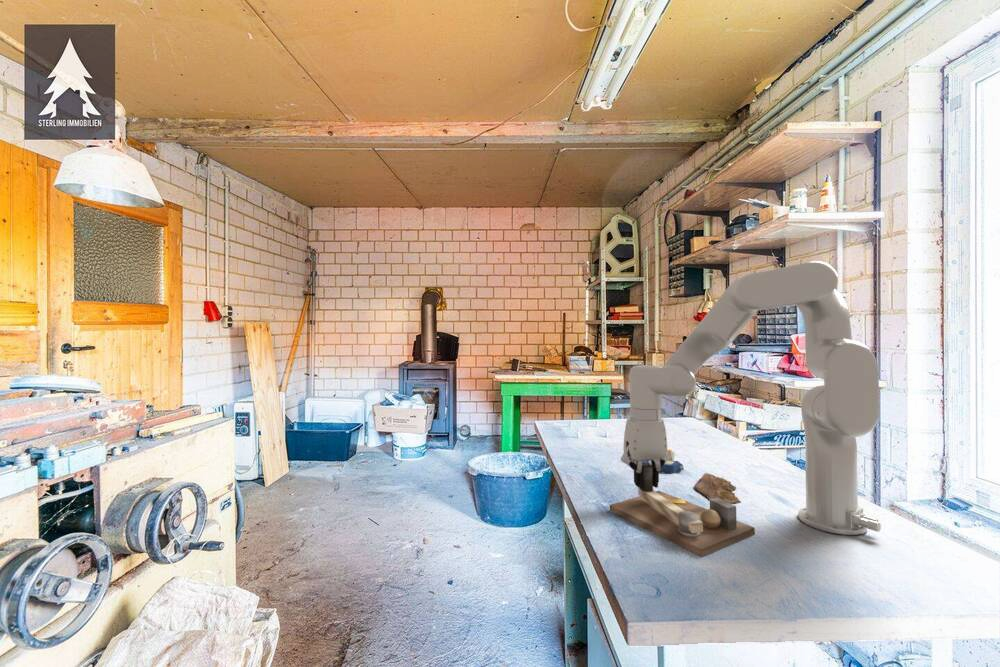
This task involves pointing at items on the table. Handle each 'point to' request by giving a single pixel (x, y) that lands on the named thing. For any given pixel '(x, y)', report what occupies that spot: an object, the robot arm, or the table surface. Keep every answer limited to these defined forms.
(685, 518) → the lever
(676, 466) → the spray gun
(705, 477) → the wooden fragment
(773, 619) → the table surface
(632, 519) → the press board
